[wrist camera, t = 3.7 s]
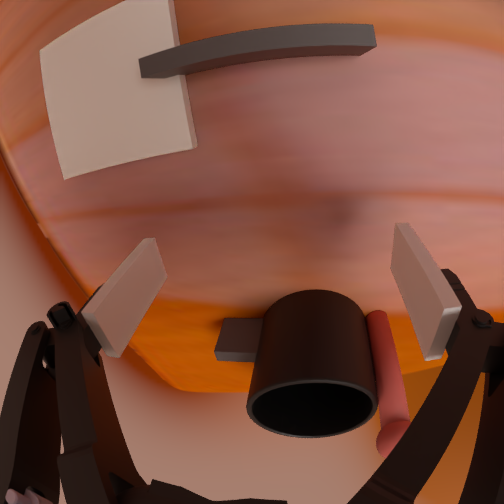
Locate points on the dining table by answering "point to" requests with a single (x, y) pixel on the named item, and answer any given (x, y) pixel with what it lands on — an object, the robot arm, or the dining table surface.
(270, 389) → the mug
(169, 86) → the plate
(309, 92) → the dining table surface
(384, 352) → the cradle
